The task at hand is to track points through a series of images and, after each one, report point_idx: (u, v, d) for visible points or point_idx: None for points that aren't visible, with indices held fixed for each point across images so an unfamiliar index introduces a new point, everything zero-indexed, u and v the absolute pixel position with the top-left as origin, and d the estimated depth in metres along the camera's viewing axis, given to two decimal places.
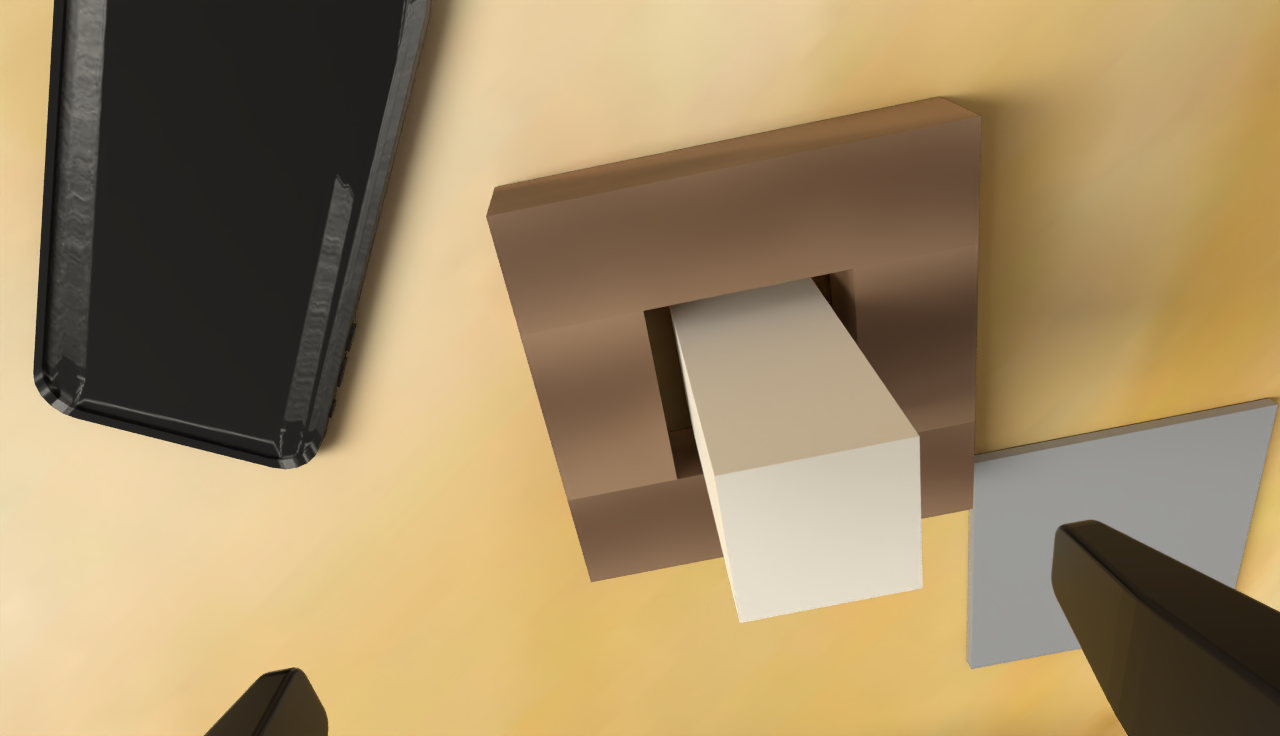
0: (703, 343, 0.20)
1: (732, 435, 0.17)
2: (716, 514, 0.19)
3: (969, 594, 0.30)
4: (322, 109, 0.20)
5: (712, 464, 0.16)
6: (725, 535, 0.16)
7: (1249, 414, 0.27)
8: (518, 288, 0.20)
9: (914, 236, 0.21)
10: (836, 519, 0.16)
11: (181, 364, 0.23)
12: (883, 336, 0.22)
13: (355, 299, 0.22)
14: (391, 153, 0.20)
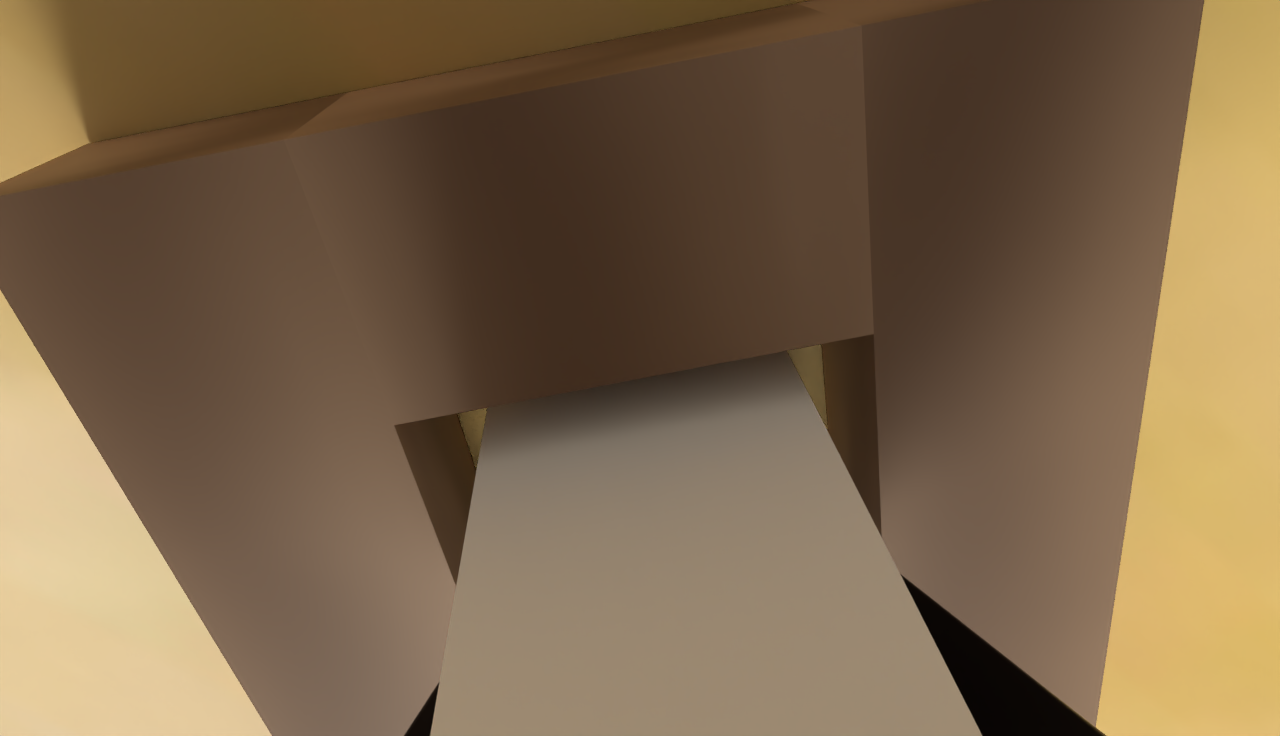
0: None
1: None
2: None
3: None
4: None
5: None
6: None
7: None
8: None
9: (293, 308, 0.08)
10: None
11: None
12: (564, 335, 0.09)
13: None
14: None
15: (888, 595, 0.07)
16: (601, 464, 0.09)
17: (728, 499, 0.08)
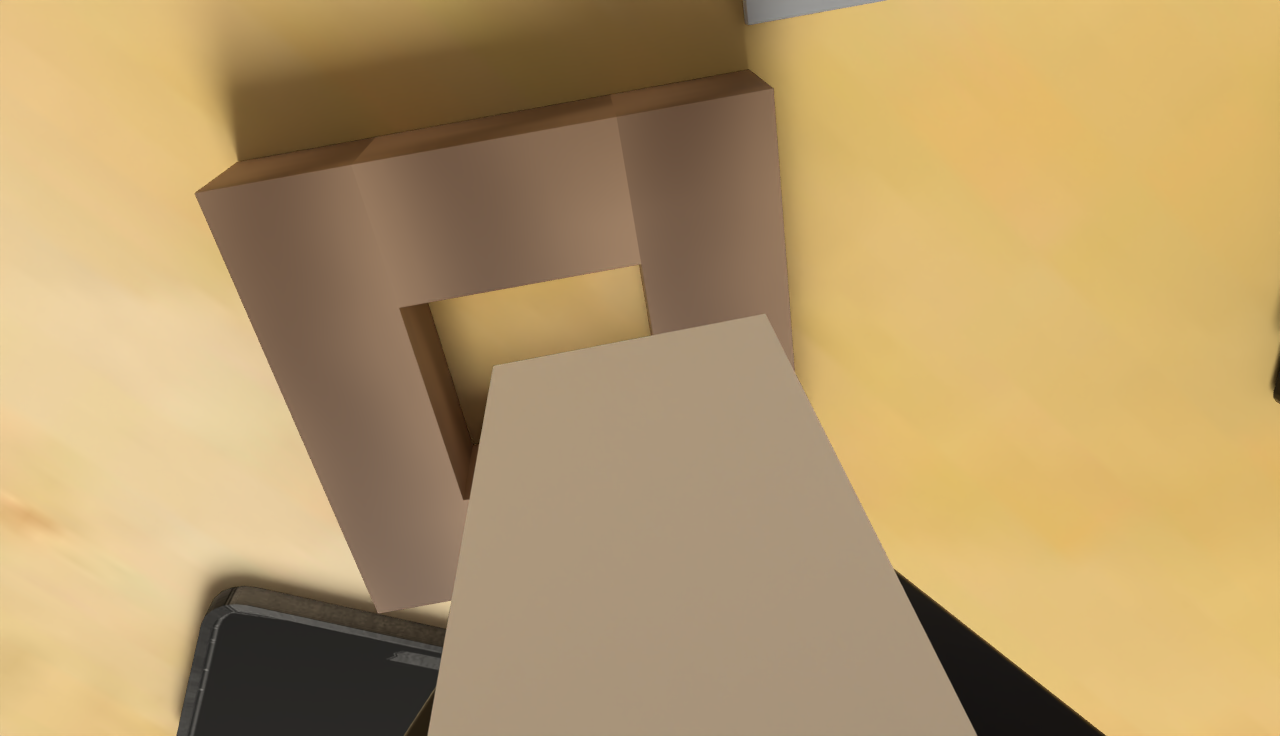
0: None
1: None
2: None
3: None
4: (335, 663, 0.26)
5: None
6: None
7: None
8: (445, 593, 0.22)
9: (351, 245, 0.17)
10: None
11: None
12: (484, 262, 0.18)
13: None
14: (362, 628, 0.25)
15: (885, 597, 0.07)
16: (599, 465, 0.09)
17: (725, 501, 0.08)
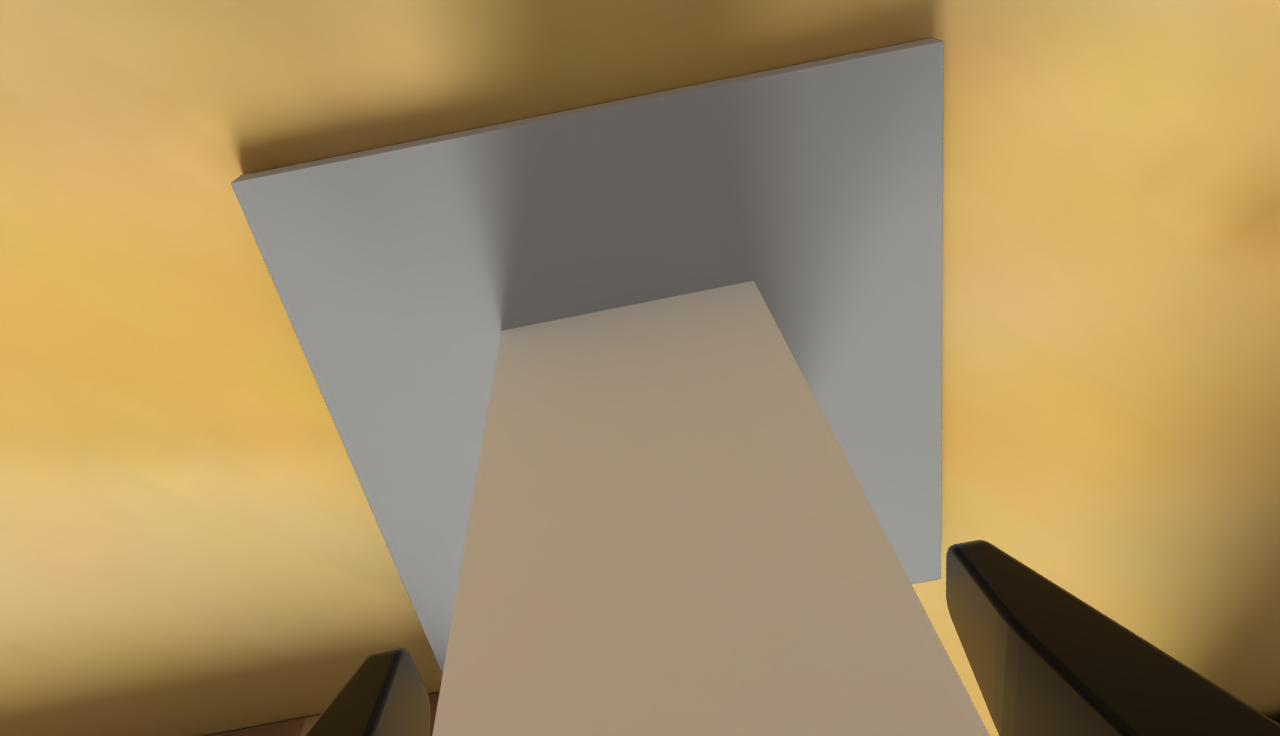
0: None
1: None
2: None
3: None
4: None
5: None
6: None
7: (269, 240, 0.12)
8: None
9: None
10: None
11: None
12: None
13: None
14: None
15: (853, 510, 0.08)
16: (601, 411, 0.10)
17: (714, 438, 0.09)
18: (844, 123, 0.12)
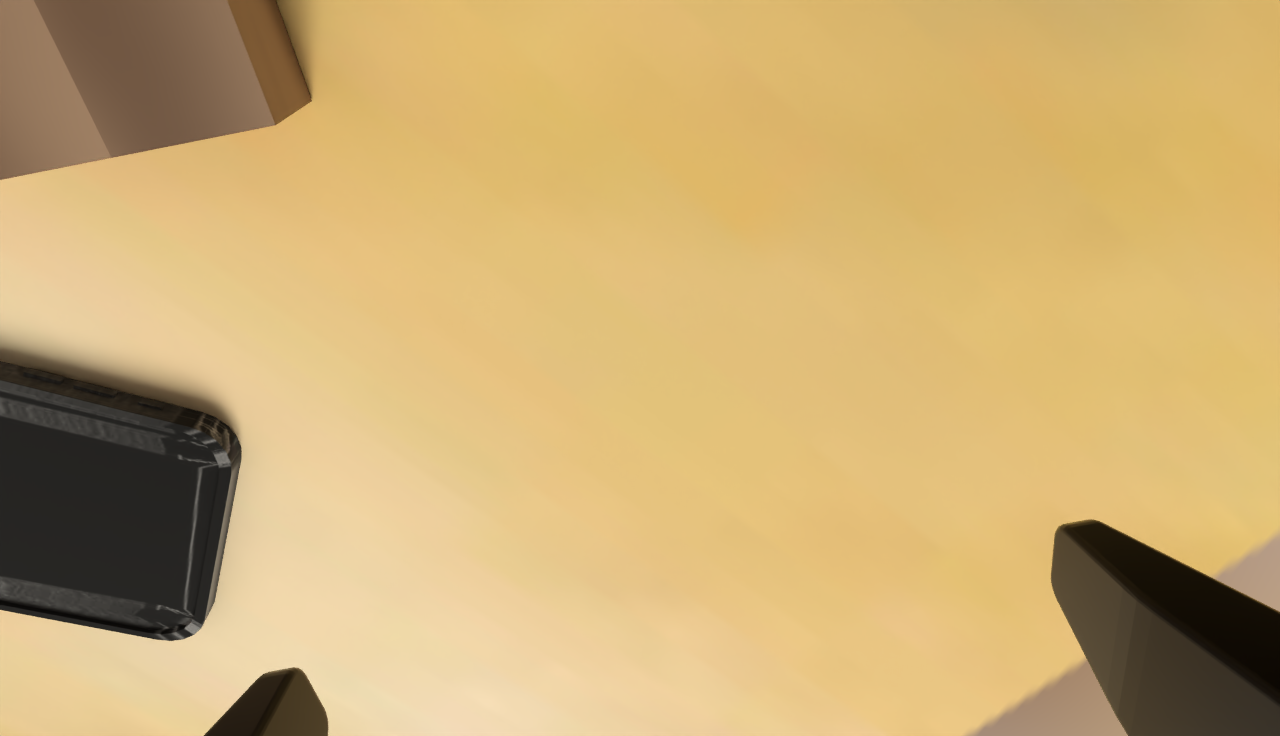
0: None
1: None
2: None
3: None
4: None
5: None
6: None
7: None
8: None
9: None
10: None
11: (116, 531, 0.22)
12: None
13: None
14: None
15: None
16: None
17: None
18: None
